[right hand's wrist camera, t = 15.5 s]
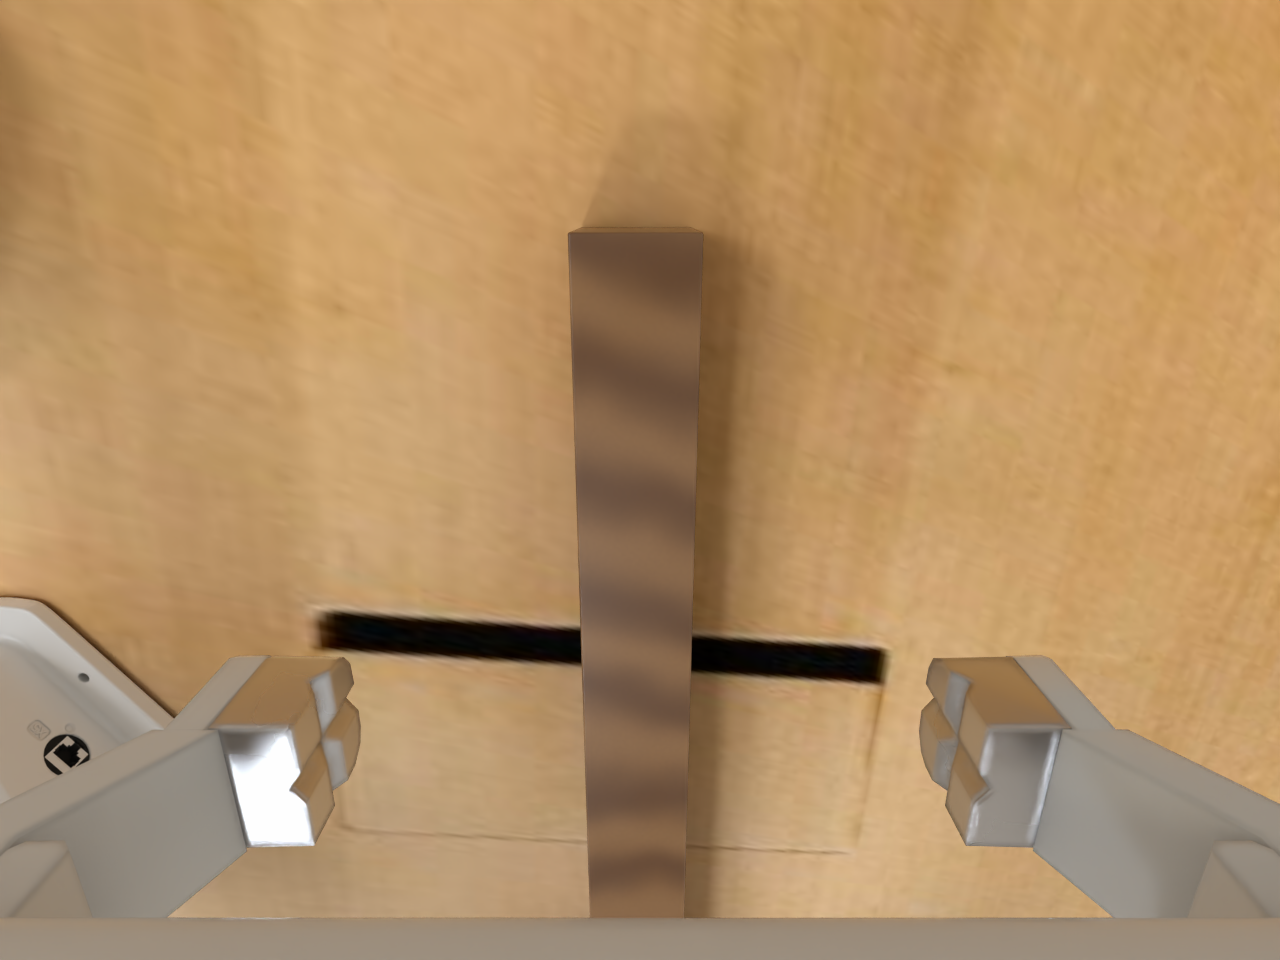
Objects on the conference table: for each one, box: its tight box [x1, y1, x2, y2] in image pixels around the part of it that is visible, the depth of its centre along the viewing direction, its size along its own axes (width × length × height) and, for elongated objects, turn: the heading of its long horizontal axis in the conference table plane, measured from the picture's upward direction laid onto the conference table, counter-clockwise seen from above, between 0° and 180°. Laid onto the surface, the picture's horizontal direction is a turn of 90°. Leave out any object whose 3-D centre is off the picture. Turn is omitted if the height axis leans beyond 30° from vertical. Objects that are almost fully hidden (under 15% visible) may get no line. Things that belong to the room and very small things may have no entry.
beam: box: [568, 228, 703, 918], centre depth 44 cm, size 75×5×6 cm, turn 0°
